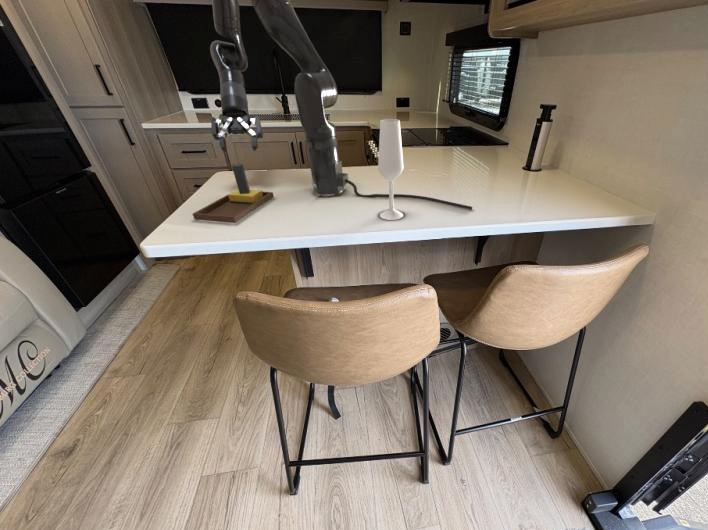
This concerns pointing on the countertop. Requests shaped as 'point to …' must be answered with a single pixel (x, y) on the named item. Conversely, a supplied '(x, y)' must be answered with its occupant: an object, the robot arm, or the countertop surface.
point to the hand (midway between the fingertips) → (239, 149)
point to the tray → (229, 209)
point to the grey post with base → (243, 188)
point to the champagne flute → (390, 160)
